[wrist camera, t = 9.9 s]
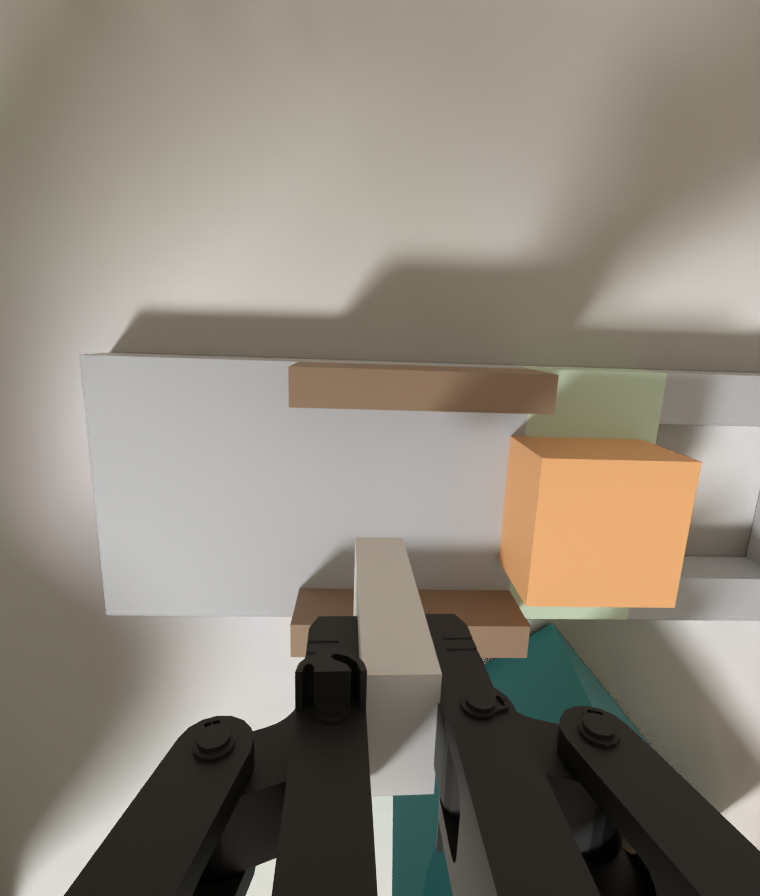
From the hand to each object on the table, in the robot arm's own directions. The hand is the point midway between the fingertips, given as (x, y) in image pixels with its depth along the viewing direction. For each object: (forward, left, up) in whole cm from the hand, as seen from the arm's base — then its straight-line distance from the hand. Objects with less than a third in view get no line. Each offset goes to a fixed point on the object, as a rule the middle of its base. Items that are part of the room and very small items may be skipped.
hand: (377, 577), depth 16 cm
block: (+9, 0, -7) cm, 11 cm away
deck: (+4, 0, -9) cm, 10 cm away
